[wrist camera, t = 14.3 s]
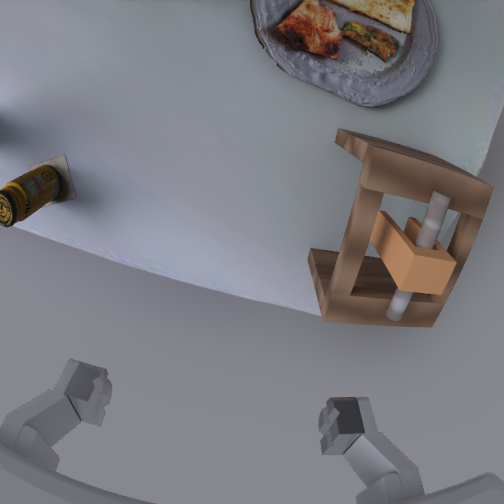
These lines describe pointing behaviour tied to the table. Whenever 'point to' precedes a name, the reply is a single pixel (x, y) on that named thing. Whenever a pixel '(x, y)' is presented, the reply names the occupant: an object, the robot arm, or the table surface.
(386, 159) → the wooden slider frame
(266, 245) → the table surface
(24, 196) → the condiment
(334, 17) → the food plate
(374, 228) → the orange forked block
